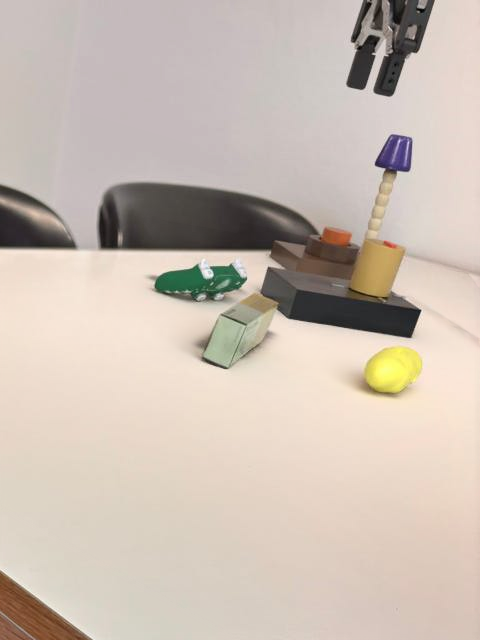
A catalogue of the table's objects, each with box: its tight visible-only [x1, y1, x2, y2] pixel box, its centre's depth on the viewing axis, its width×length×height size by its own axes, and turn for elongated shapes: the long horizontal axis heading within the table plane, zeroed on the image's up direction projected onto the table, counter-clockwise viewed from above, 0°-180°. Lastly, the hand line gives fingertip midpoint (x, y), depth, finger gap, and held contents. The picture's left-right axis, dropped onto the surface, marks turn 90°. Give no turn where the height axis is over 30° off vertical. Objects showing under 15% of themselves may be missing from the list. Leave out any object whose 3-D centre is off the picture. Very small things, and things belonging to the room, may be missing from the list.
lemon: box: [363, 345, 423, 394], centre depth 92 cm, size 4×8×4 cm, turn 136°
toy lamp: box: [358, 133, 414, 255], centre depth 144 cm, size 5×5×17 cm
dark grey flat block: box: [259, 266, 422, 339], centre depth 116 cm, size 14×10×3 cm
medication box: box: [201, 292, 279, 370], centre depth 94 cm, size 12×3×4 cm, turn 154°
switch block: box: [269, 234, 362, 280], centre depth 137 cm, size 12×10×4 cm
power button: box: [321, 226, 353, 246], centre depth 136 cm, size 4×4×2 cm
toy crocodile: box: [153, 257, 248, 302], centre depth 111 cm, size 9×4×6 cm
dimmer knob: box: [349, 238, 407, 297], centre depth 114 cm, size 4×4×5 cm
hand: (368, 91), depth 121 cm, fingers open, 8 cm apart
